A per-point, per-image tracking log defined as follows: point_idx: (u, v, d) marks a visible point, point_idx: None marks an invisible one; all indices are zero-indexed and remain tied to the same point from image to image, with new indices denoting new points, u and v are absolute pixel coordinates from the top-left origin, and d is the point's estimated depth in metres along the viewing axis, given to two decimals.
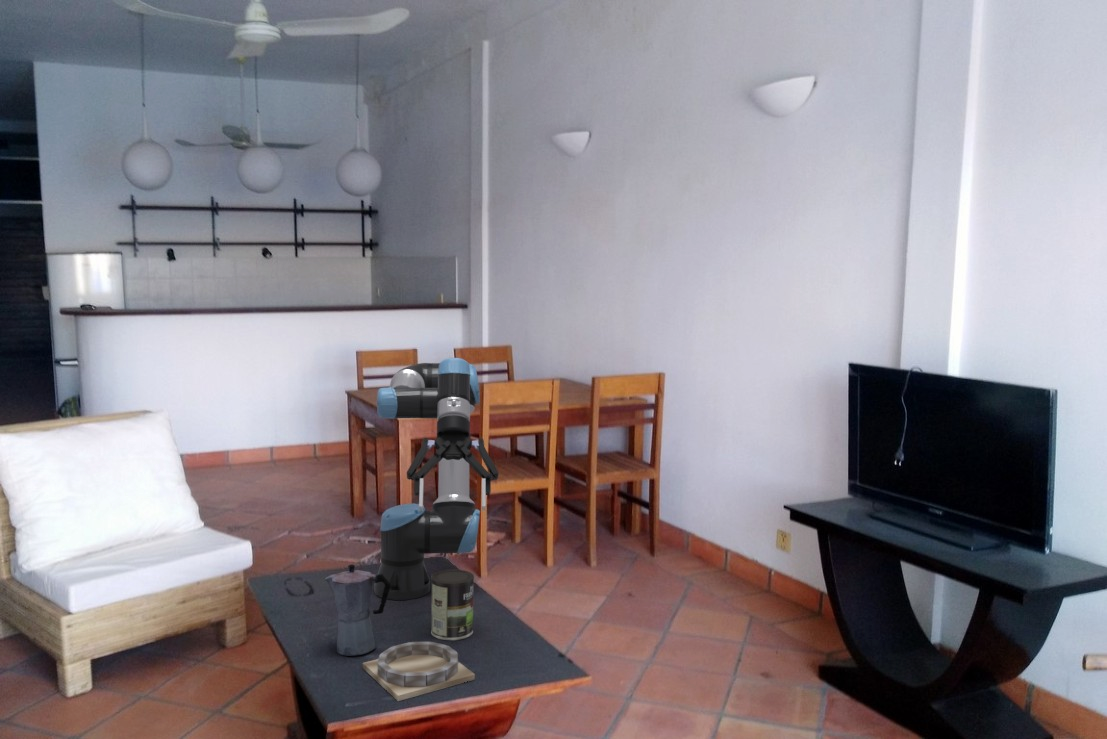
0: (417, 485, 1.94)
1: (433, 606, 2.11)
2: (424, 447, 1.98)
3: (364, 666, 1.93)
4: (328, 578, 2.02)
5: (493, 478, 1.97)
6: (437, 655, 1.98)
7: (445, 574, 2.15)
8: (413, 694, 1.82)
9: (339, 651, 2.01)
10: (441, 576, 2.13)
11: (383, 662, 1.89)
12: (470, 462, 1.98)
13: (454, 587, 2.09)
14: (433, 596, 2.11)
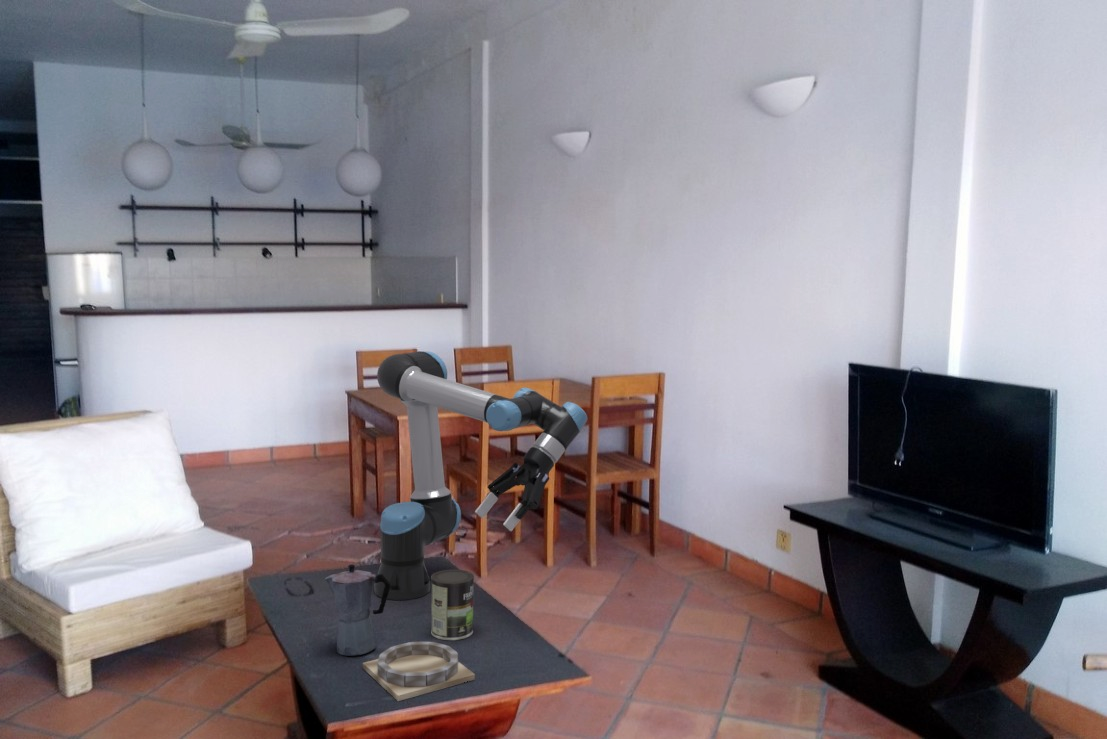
0: None
1: (433, 606, 2.11)
2: None
3: (364, 666, 1.93)
4: (328, 578, 2.02)
5: None
6: (437, 655, 1.98)
7: (445, 574, 2.15)
8: (413, 694, 1.82)
9: (339, 651, 2.01)
10: (441, 576, 2.13)
11: (383, 662, 1.89)
12: (511, 484, 2.25)
13: (454, 587, 2.09)
14: (433, 596, 2.11)
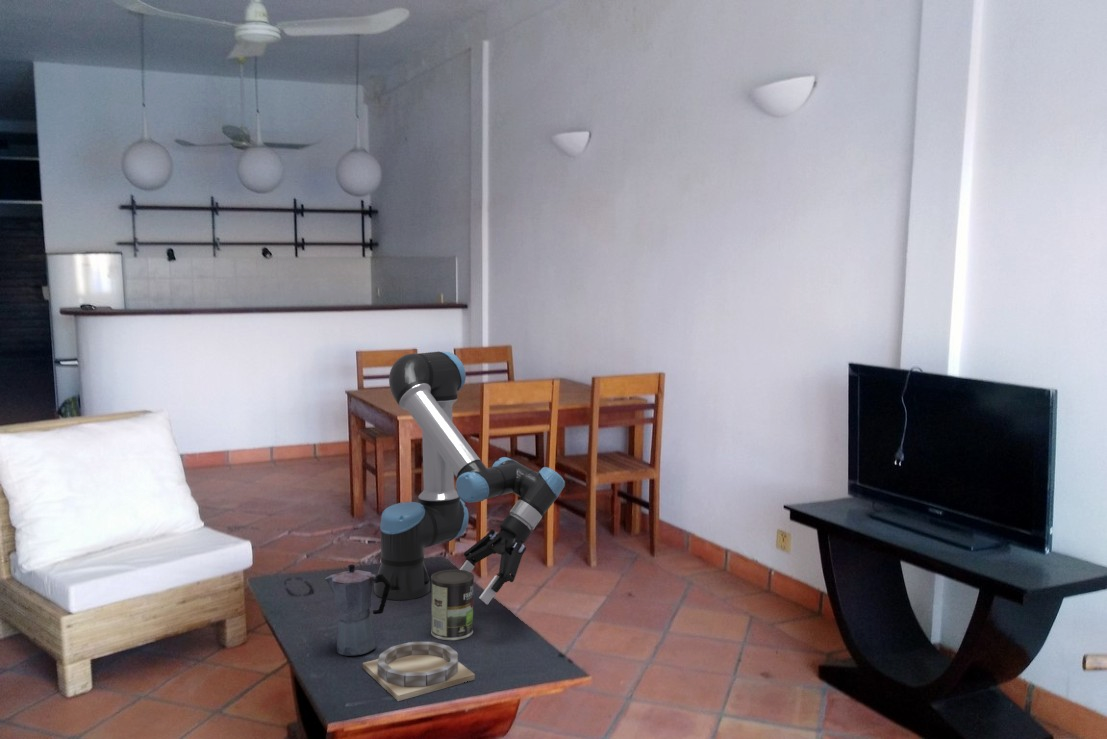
0: None
1: (433, 606, 2.11)
2: None
3: (364, 666, 1.93)
4: (328, 578, 2.02)
5: None
6: (437, 655, 1.98)
7: (445, 574, 2.15)
8: (413, 694, 1.82)
9: (339, 651, 2.01)
10: (441, 576, 2.13)
11: (383, 662, 1.89)
12: (487, 553, 2.21)
13: (454, 587, 2.09)
14: (433, 596, 2.11)
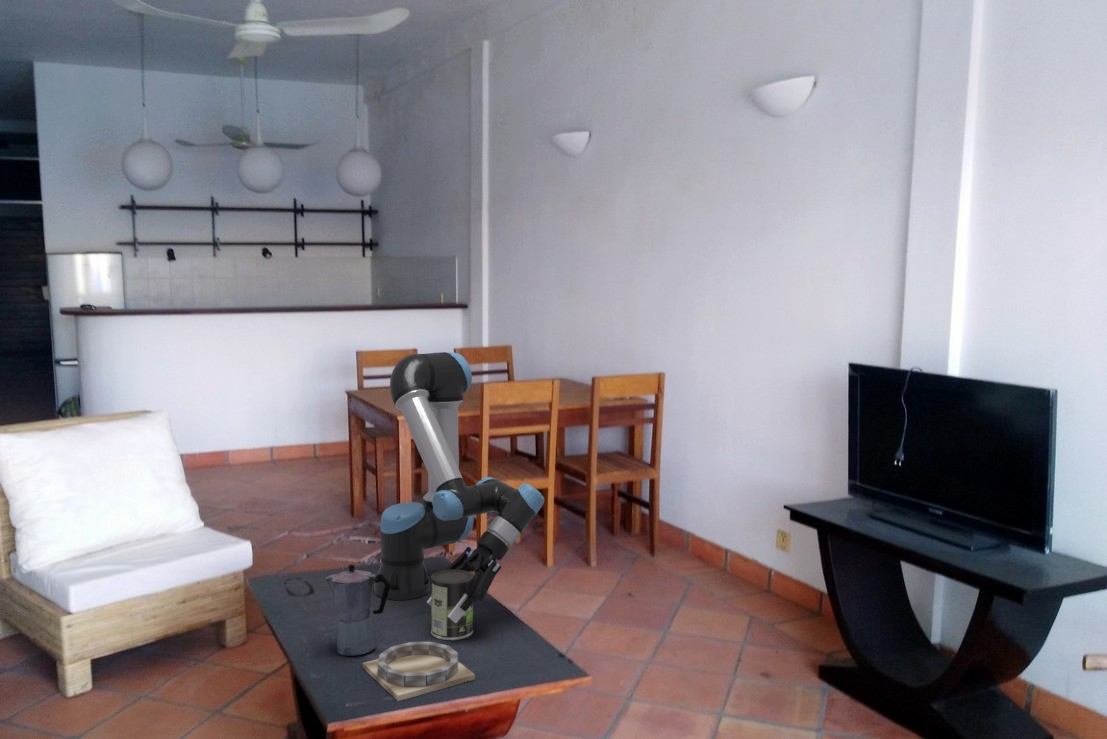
0: None
1: (433, 606, 2.11)
2: None
3: (364, 666, 1.93)
4: (328, 578, 2.02)
5: None
6: (437, 655, 1.98)
7: (445, 574, 2.15)
8: (413, 694, 1.82)
9: (339, 651, 2.01)
10: (441, 576, 2.13)
11: (383, 662, 1.89)
12: None
13: (454, 587, 2.09)
14: (433, 596, 2.11)
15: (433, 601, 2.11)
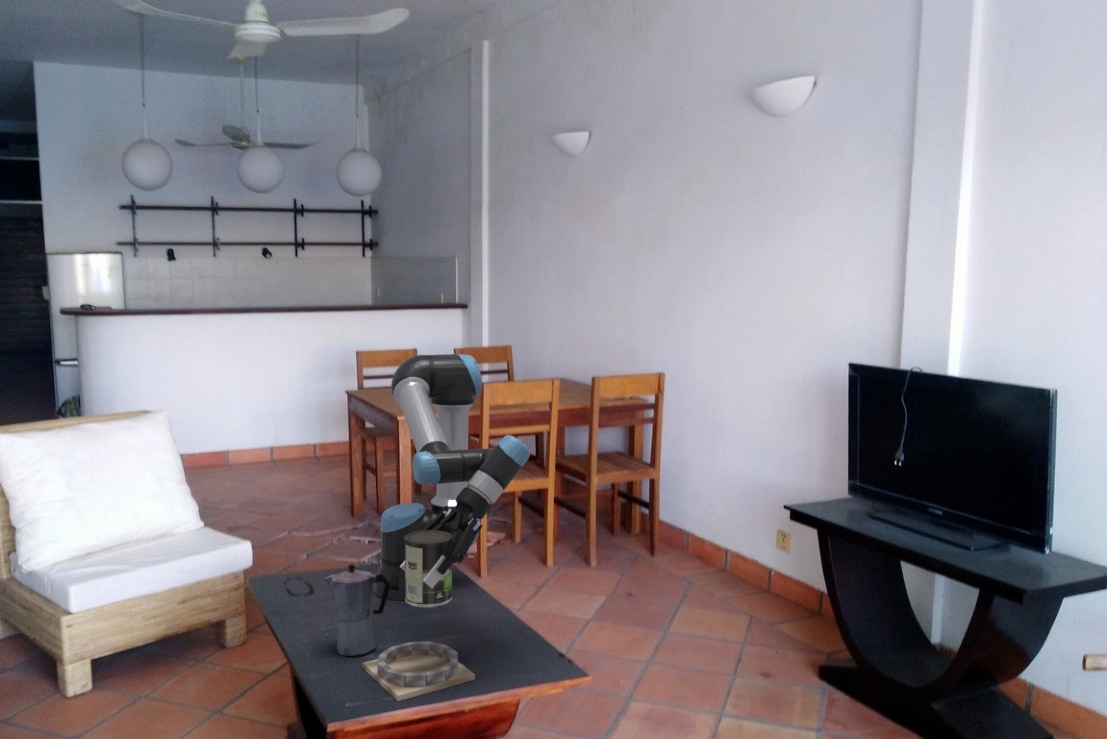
0: None
1: (407, 570, 1.89)
2: None
3: (364, 666, 1.93)
4: (328, 578, 2.02)
5: None
6: (437, 655, 1.98)
7: (420, 535, 1.93)
8: (413, 694, 1.82)
9: (339, 651, 2.01)
10: (416, 537, 1.91)
11: (383, 662, 1.89)
12: None
13: (430, 547, 1.86)
14: (407, 559, 1.89)
15: (407, 564, 1.89)
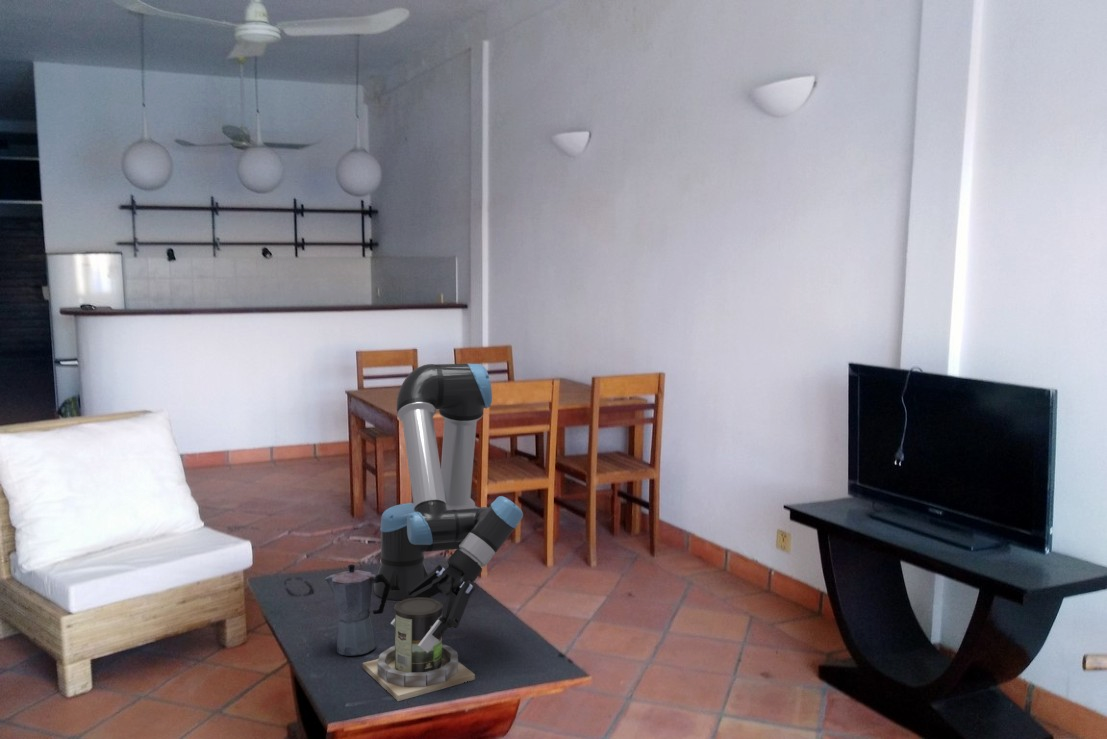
0: None
1: (396, 639, 1.89)
2: None
3: (364, 666, 1.93)
4: (328, 578, 2.02)
5: None
6: None
7: (410, 603, 1.92)
8: (413, 694, 1.82)
9: (339, 651, 2.01)
10: (406, 606, 1.91)
11: (383, 662, 1.89)
12: (433, 592, 1.97)
13: (420, 618, 1.86)
14: (396, 628, 1.89)
15: (396, 634, 1.89)
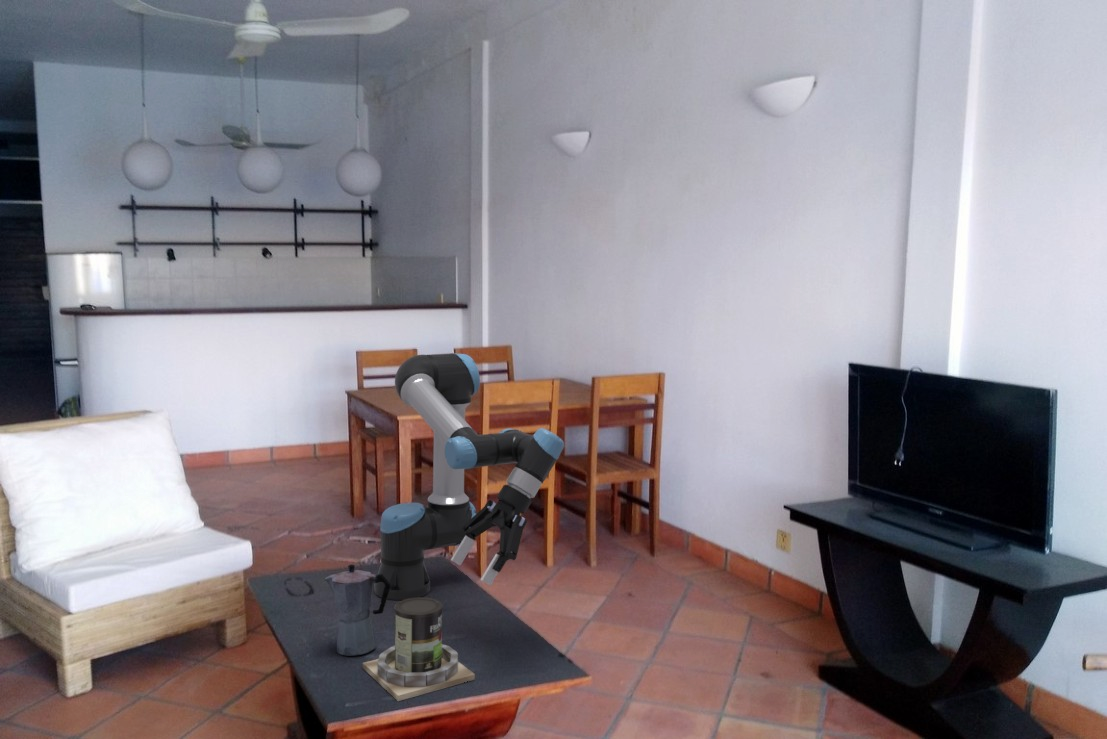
0: None
1: (396, 639, 1.89)
2: None
3: (364, 666, 1.93)
4: (328, 578, 2.02)
5: None
6: None
7: (410, 603, 1.92)
8: (413, 694, 1.82)
9: (339, 651, 2.01)
10: (406, 606, 1.91)
11: (383, 662, 1.89)
12: (487, 526, 2.05)
13: (420, 618, 1.86)
14: (396, 628, 1.89)
15: (396, 634, 1.89)
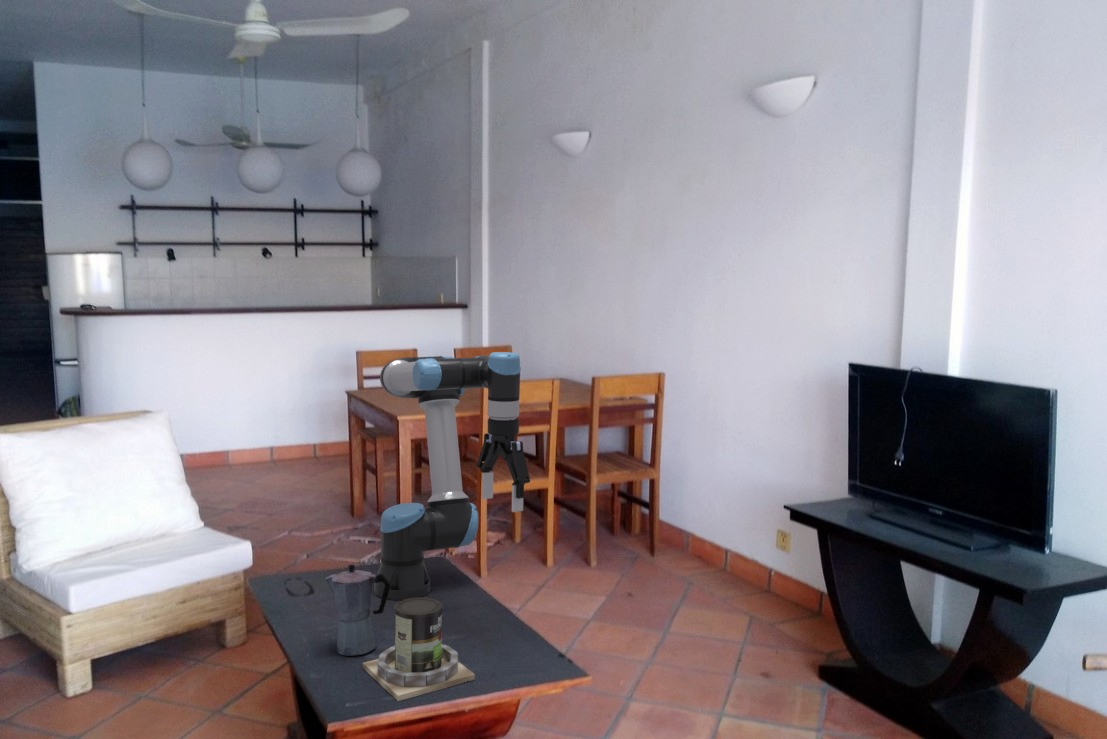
0: None
1: (396, 639, 1.89)
2: None
3: (364, 666, 1.93)
4: (328, 578, 2.02)
5: None
6: None
7: (410, 603, 1.92)
8: (413, 694, 1.82)
9: (339, 651, 2.01)
10: (406, 606, 1.91)
11: (383, 662, 1.89)
12: (495, 457, 2.14)
13: (420, 618, 1.86)
14: (396, 628, 1.89)
15: (396, 634, 1.89)
